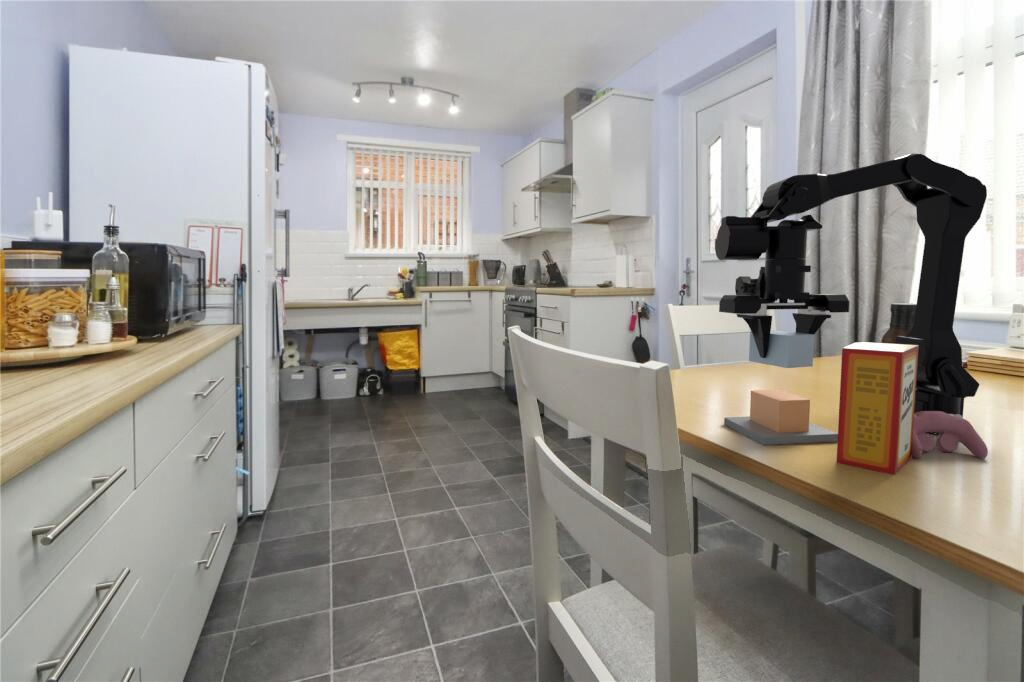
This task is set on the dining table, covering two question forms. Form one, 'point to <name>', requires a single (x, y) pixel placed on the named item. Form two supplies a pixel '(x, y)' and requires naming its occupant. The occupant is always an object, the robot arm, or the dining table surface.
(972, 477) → the dining table surface
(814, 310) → the robot arm
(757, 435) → the baseplate
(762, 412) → the brick bottom
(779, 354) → the brick top
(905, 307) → the sauce bottle
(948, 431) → the video game controller
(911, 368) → the baking soda box
